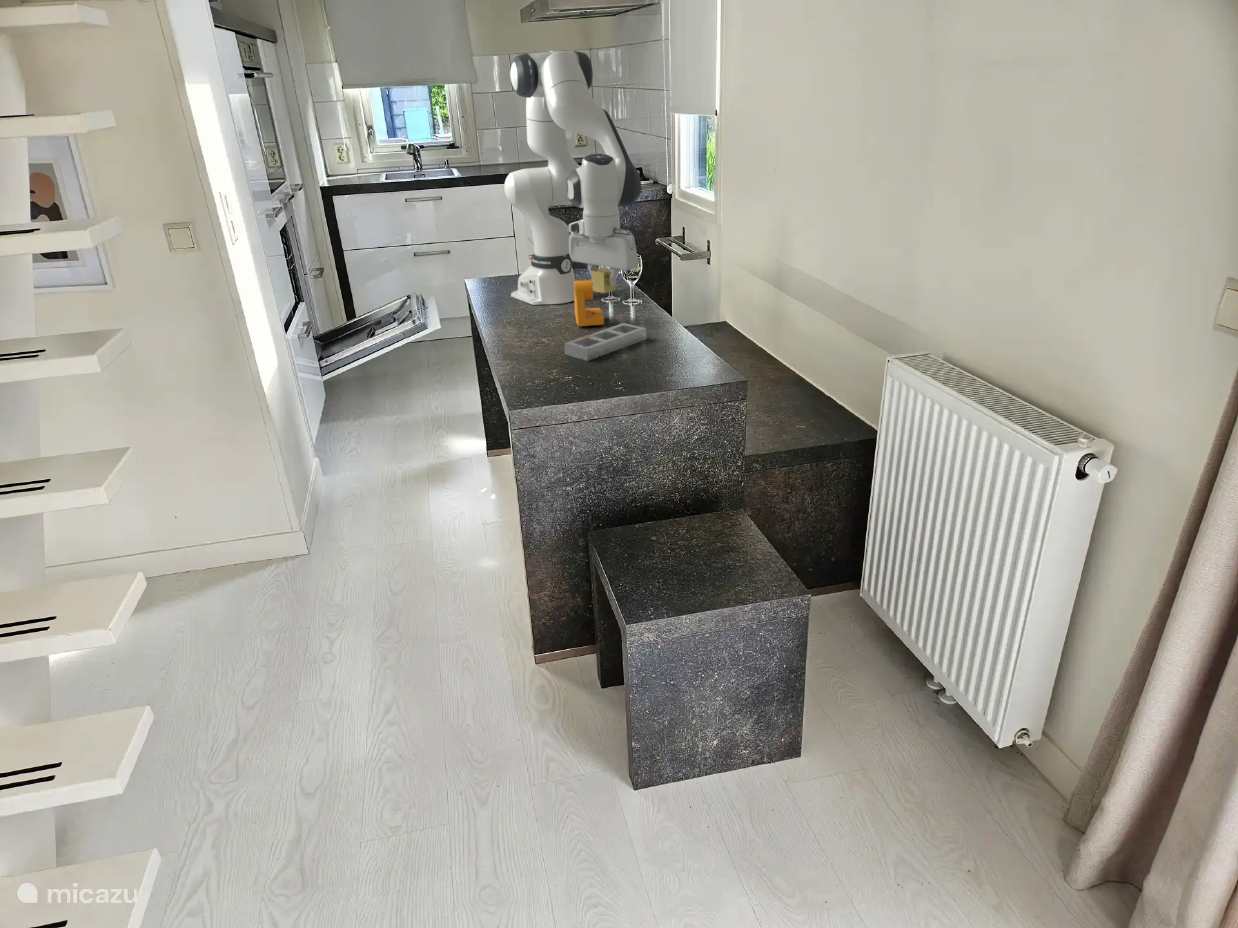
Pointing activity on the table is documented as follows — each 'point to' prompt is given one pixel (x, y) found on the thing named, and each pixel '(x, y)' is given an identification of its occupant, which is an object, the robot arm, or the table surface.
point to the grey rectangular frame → (605, 341)
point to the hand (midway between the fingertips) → (604, 283)
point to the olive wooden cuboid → (601, 280)
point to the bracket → (584, 316)
